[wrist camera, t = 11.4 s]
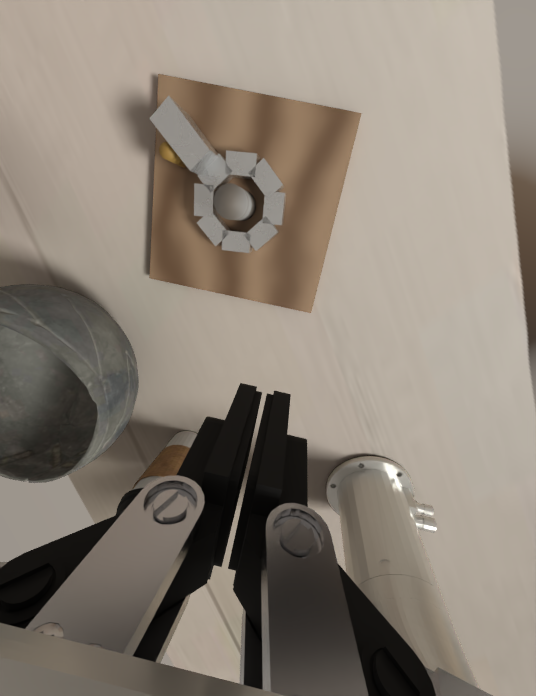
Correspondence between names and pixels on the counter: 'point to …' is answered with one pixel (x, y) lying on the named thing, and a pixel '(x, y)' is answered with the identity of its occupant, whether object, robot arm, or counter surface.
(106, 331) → the bowl
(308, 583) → the robot arm
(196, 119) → the post base
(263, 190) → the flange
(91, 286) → the counter surface
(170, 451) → the coffee cup
